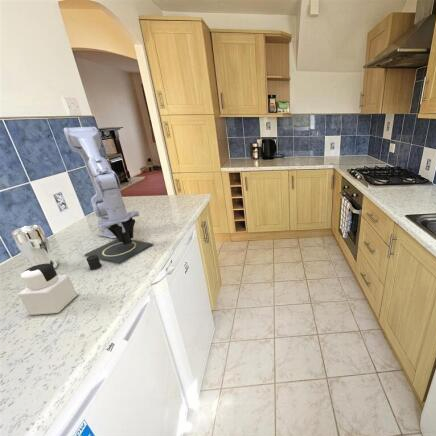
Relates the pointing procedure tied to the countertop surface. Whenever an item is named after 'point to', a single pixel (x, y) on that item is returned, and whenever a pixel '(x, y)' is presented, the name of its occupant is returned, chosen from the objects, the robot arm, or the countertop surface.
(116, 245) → the slate board
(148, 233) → the countertop surface
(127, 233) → the eye stopper
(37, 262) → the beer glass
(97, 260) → the eye stopper
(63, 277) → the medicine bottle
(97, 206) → the robot arm
